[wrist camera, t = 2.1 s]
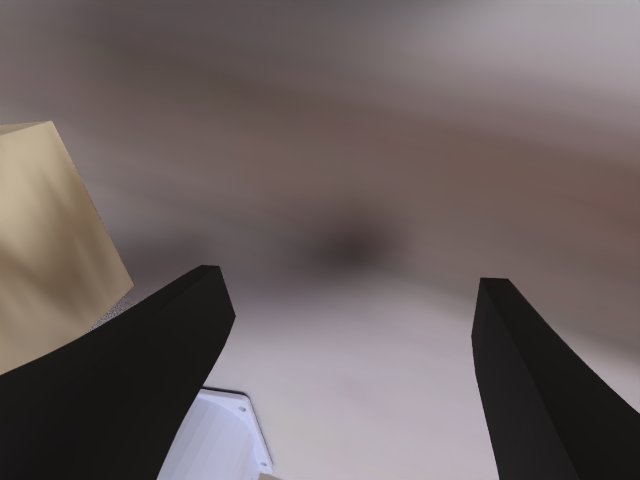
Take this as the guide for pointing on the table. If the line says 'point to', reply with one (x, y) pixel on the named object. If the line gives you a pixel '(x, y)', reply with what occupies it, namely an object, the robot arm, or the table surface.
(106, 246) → the birch slab
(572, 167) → the table surface
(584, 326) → the table surface
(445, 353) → the table surface
